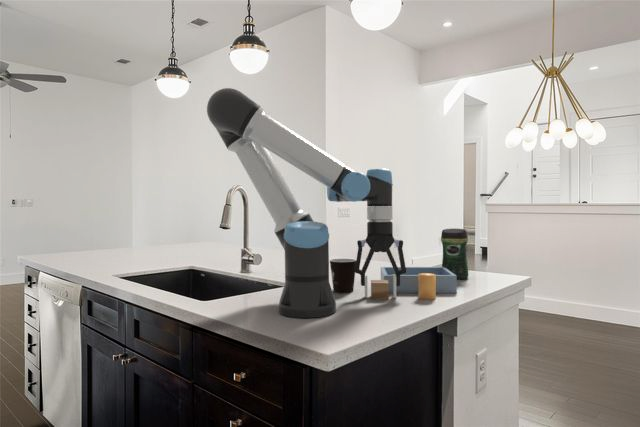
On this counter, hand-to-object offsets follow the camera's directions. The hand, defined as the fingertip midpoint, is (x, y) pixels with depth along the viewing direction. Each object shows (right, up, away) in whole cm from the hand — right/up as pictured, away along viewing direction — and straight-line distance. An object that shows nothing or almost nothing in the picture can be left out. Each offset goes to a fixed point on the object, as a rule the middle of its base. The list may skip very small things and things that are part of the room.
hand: (380, 296), depth 129 cm
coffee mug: (-10, 0, +12) cm, 16 cm away
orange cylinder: (+14, 0, -1) cm, 14 cm away
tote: (+14, 0, +15) cm, 20 cm away
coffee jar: (+33, +1, +32) cm, 46 cm away
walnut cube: (0, 0, 0) cm, 0 cm away
